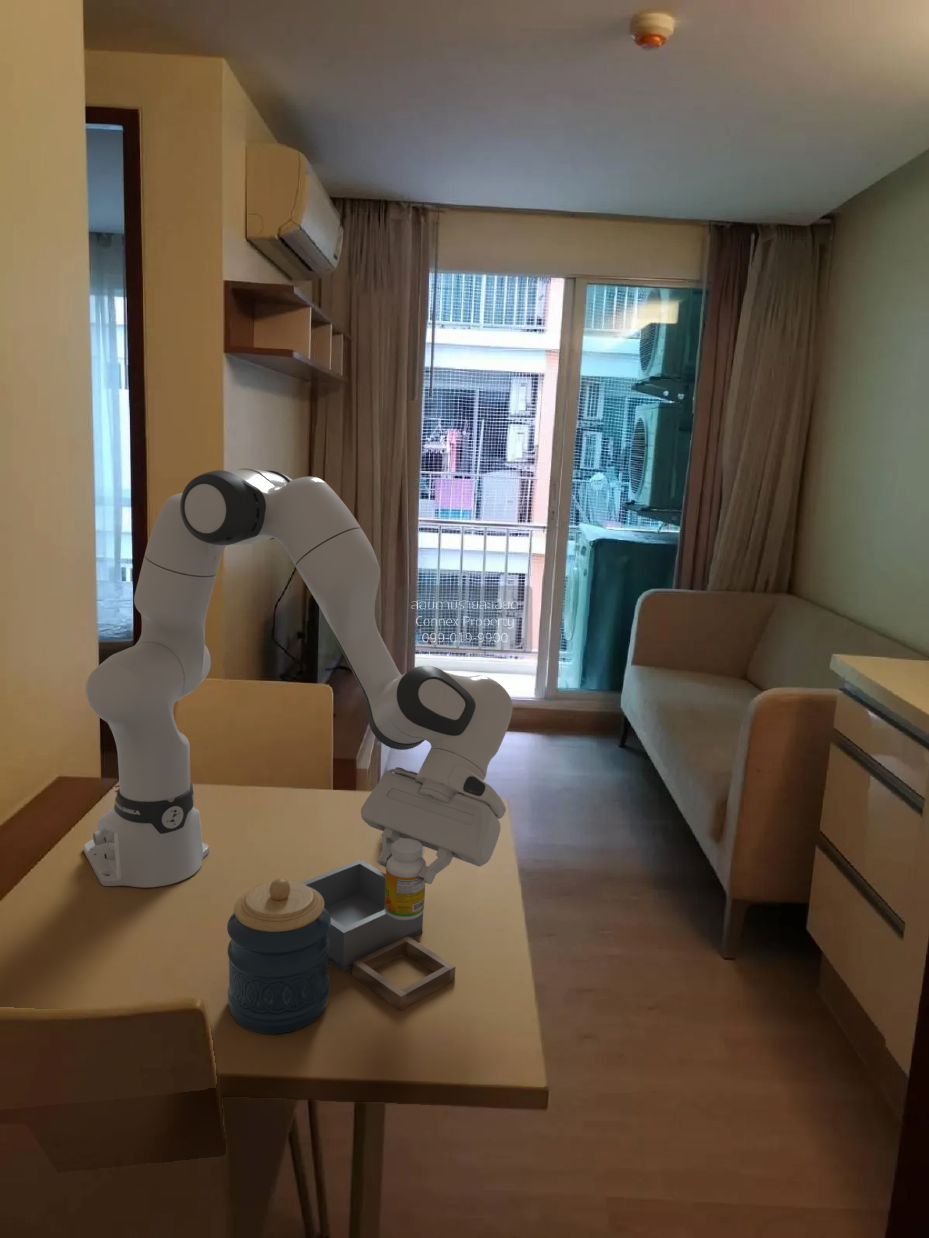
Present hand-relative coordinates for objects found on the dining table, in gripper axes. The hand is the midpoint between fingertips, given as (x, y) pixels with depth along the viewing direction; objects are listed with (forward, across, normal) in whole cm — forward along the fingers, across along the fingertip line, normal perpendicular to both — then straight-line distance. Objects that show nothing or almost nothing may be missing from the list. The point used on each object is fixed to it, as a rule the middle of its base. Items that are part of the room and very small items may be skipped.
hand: (403, 873), depth 118 cm
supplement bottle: (+4, 0, +5) cm, 6 cm away
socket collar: (+11, 0, +12) cm, 16 cm away
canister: (+21, -9, +2) cm, 23 cm away
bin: (+7, -13, +15) cm, 21 cm away
